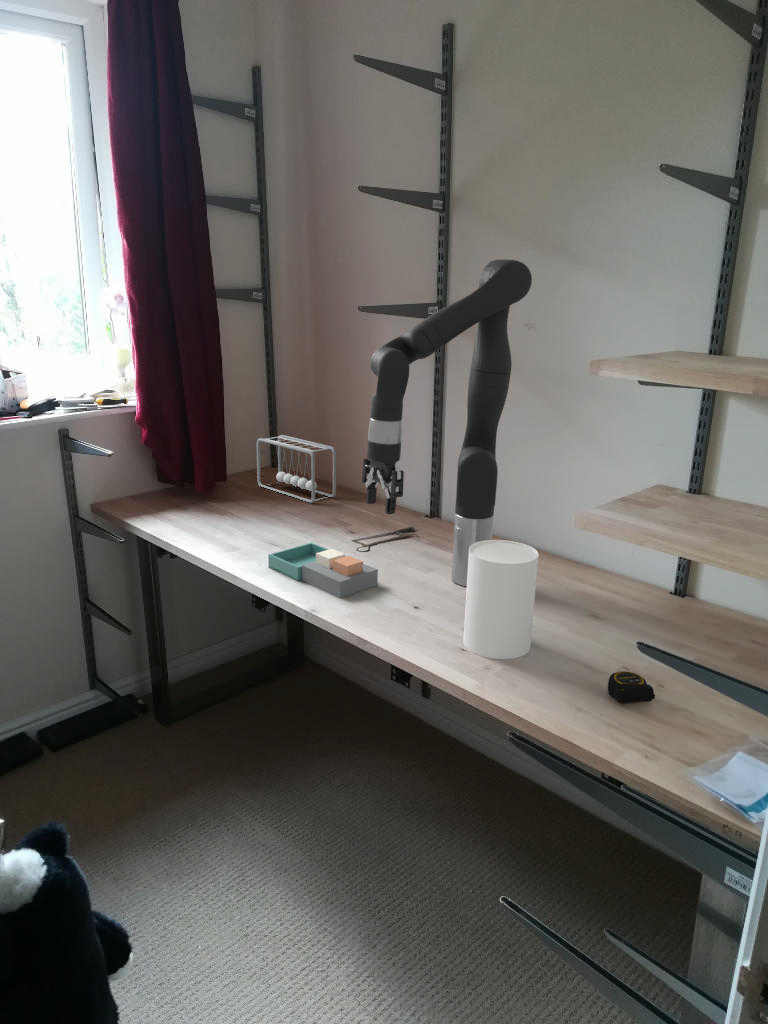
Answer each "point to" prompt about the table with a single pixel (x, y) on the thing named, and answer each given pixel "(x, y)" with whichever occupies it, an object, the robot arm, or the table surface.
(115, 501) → the table surface
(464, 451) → the robot arm
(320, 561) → the cream tile
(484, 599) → the canister
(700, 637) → the table surface
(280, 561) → the box
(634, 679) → the tape measure
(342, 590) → the grey flat block
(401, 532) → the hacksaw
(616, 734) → the table surface
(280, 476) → the newton's cradle
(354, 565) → the terracotta tile
